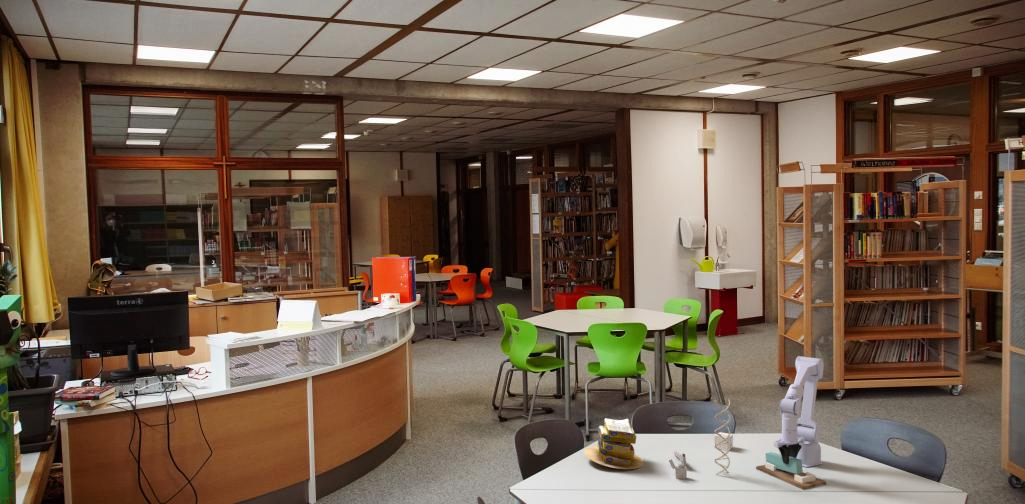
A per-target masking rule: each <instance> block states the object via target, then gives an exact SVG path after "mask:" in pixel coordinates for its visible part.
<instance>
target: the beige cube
mask: <svg viewBox="0 0 1025 504" xmlns="http://www.w3.org/2000/svg"><path fill="white" fill-rule="evenodd" d="M717 433H718V434H721V436H722V435H725V436H728V434H729V433H728V432H727V433H726V432H723V431H719V432H717ZM725 436H722V437H724V438H727V437H725ZM713 437H714V445H713V446H714V449H715V444H717V443H719V442H721V441H722V440H724V439H723V438H721V437H720V436H719V435H717V434H716V433H715V434H714V436H713ZM727 441H728V442H729V444H730V450H731V449H733V448H734V434H732V433H730V436H729V438H728V439H727ZM723 443H727V442H726V441H724V442H722V443H720V444H721V445H717V446H716V447H717V448H718V449H721V451H723V450H725V451H724V452H726V451H728V449H729V446H728V444H723ZM732 447H733V448H732ZM718 449H717V450H718Z"/></svg>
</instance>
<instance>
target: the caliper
mask: <svg viewBox="0 0 1025 504" xmlns="http://www.w3.org/2000/svg"><path fill="white" fill-rule="evenodd" d="M673 454H674V456H676V457H677V458H678V459H679V461H680V462H681V464H683V465H684V467H686V468H687V458H686V454H685V453H680V452H678V451H677V450H675V451H673Z"/></svg>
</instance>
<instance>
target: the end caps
mask: <svg viewBox="0 0 1025 504" xmlns="http://www.w3.org/2000/svg"><path fill="white" fill-rule="evenodd" d="M764 465H765V468H768V469H770V470H772V471H776V466H775V465H773V464H770V463H768V462H766V461H765V464H764ZM805 473H806V476H804V477H801V476H799V475H797V474H796V475H794V480H796V481H798V482H800V483H806V482H810V481H815V480H816V478H817V475H816V474H813V473H811V472H808V471H807V472H805Z"/></svg>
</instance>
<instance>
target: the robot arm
mask: <svg viewBox="0 0 1025 504" xmlns="http://www.w3.org/2000/svg"><path fill="white" fill-rule="evenodd" d="M794 367H795V371H796V374H795V375H796V376H795V378H794V382H793V383H792V384H790V385H789V388H788V389H787V391H786V394H785V396H784V398H782V399H780V402H779V412H780V417H781V436H780V438H779V439H778V440H776V441H774V442H773V447H774V448H776V449H778V452H779V454H781V456H782V460H783V463H785V464H788V463H789V457H793V458H797V459H801V460H802V467H804V468H811V467H815V466H819V465H823V462H822V448H821V447H822V446H821V445H820V443H819V442H820V439H821V438H820V437H821V426H820V424H819V423H818V422H817V421H816V420H815V419H814V417H815V407H816V400H817V399H816V398H817V389H818V383H819V380H821V379H823V375H824V367H825V364H824V360H823V358H819V357H818V358H817V357H807V356H801V355H798V356H797V357H796V358H795V365H794ZM801 400H802V401H801ZM800 411H801V413H800ZM799 414H801V415H800V417H799Z"/></svg>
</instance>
